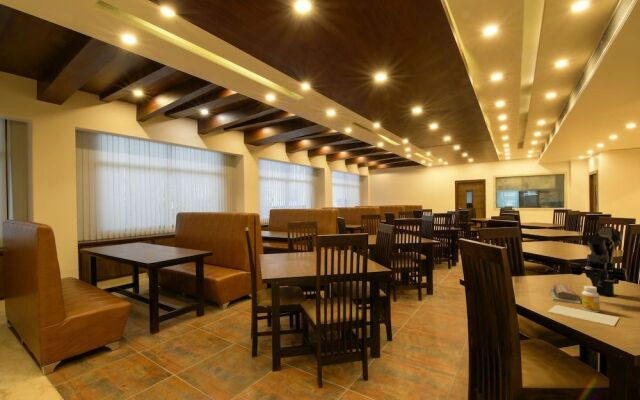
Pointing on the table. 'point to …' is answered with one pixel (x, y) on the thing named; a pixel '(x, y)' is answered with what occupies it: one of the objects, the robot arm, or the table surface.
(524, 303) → the table surface
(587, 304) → the supplement bottle
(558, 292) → the packaged product
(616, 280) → the robot arm
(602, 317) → the rubber mat
